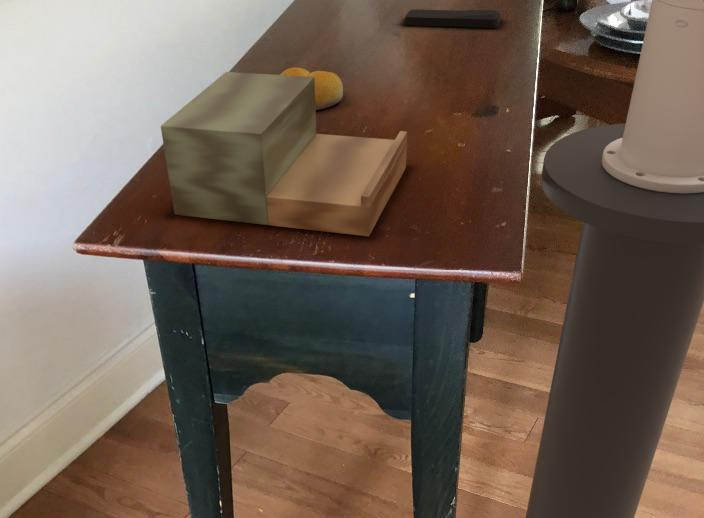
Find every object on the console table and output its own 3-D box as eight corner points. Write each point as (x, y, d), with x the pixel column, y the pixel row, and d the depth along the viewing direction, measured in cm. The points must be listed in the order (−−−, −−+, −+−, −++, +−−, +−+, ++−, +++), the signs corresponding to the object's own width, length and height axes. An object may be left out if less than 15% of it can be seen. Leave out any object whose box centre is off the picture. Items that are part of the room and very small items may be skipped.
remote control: (403, 29, 129) (497, 28, 125) (403, 17, 128) (498, 16, 124) (409, 20, 132) (501, 19, 128) (409, 9, 131) (501, 7, 127)
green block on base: (406, 167, 86) (409, 82, 80) (368, 236, 74) (369, 142, 68) (234, 152, 91) (225, 71, 85) (174, 215, 79) (160, 125, 74)
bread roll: (334, 114, 99) (333, 81, 97) (266, 109, 102) (264, 77, 99) (351, 91, 105) (351, 60, 103) (287, 87, 108) (285, 56, 105)
